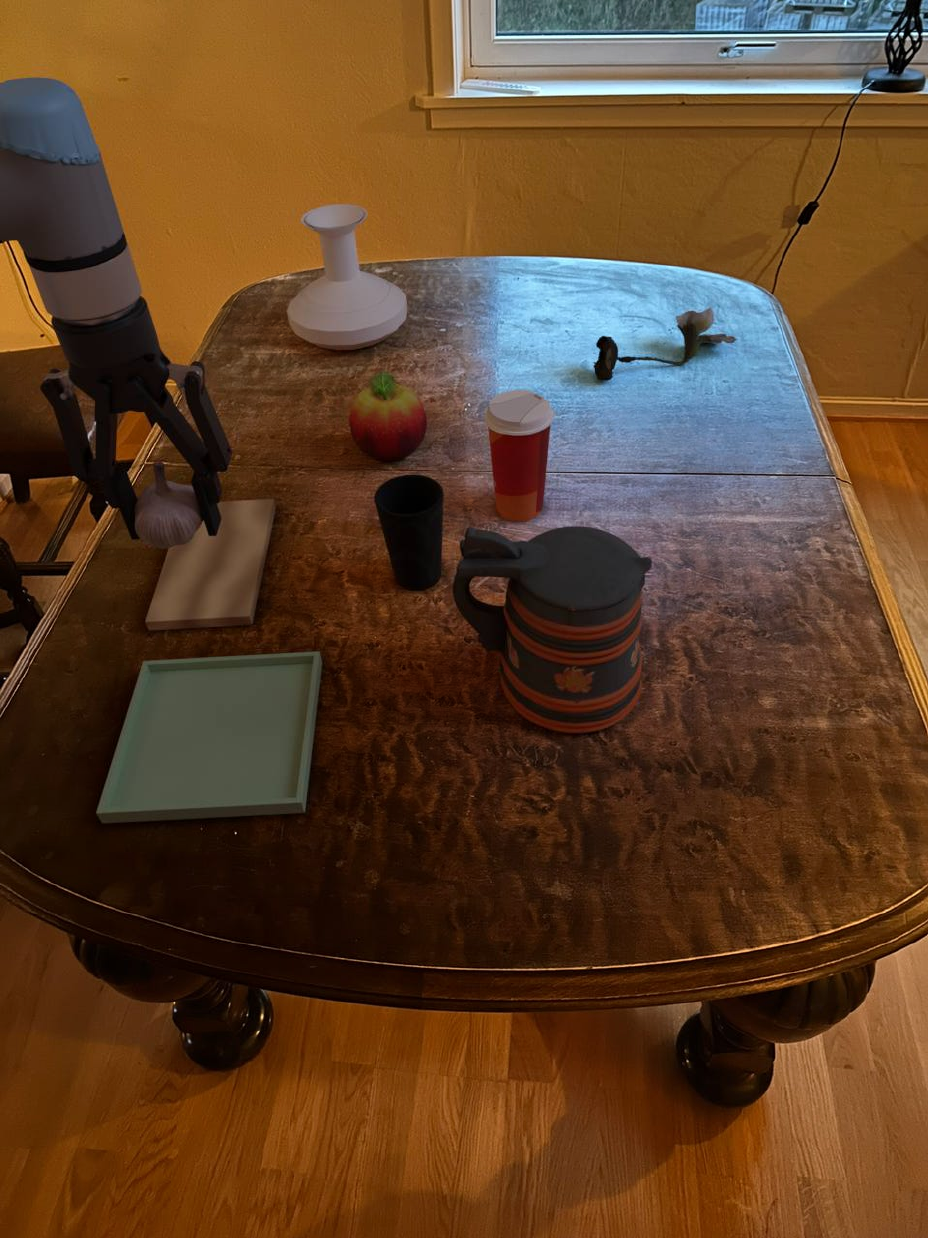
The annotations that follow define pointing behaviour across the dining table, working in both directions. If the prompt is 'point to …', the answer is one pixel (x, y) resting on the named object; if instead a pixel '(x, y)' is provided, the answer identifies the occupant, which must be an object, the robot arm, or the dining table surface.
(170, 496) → the garlic bulb
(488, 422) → the coffee cup
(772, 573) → the dining table surface
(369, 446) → the fruit
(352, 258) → the white vase
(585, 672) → the beer stein
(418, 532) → the cup
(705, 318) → the artificial flower
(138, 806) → the green square tray
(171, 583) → the cutting board
